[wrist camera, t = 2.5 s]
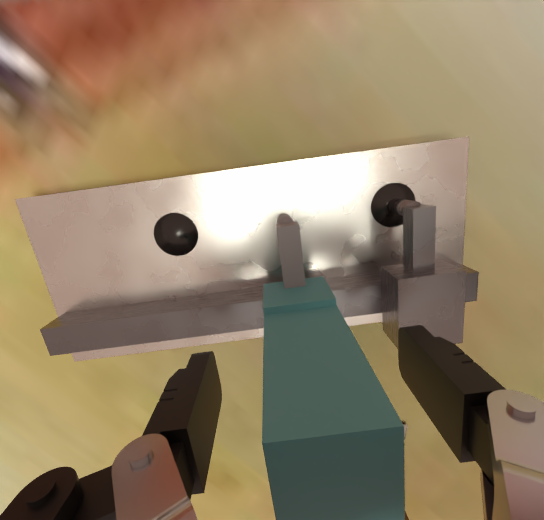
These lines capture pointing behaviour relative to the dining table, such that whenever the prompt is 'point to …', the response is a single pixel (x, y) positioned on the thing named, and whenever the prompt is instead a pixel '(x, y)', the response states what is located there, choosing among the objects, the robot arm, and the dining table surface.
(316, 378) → the leg
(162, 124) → the dining table surface
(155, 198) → the hole plate
